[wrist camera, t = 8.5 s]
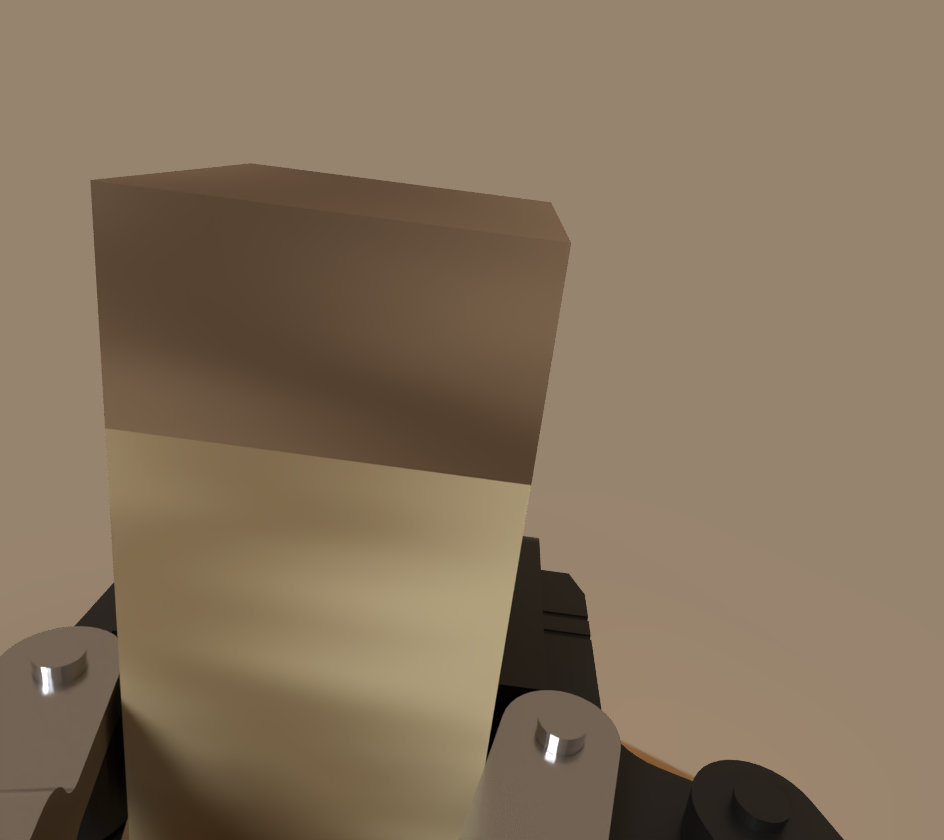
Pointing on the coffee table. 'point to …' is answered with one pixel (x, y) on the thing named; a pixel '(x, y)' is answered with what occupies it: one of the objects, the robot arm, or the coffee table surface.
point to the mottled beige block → (316, 490)
